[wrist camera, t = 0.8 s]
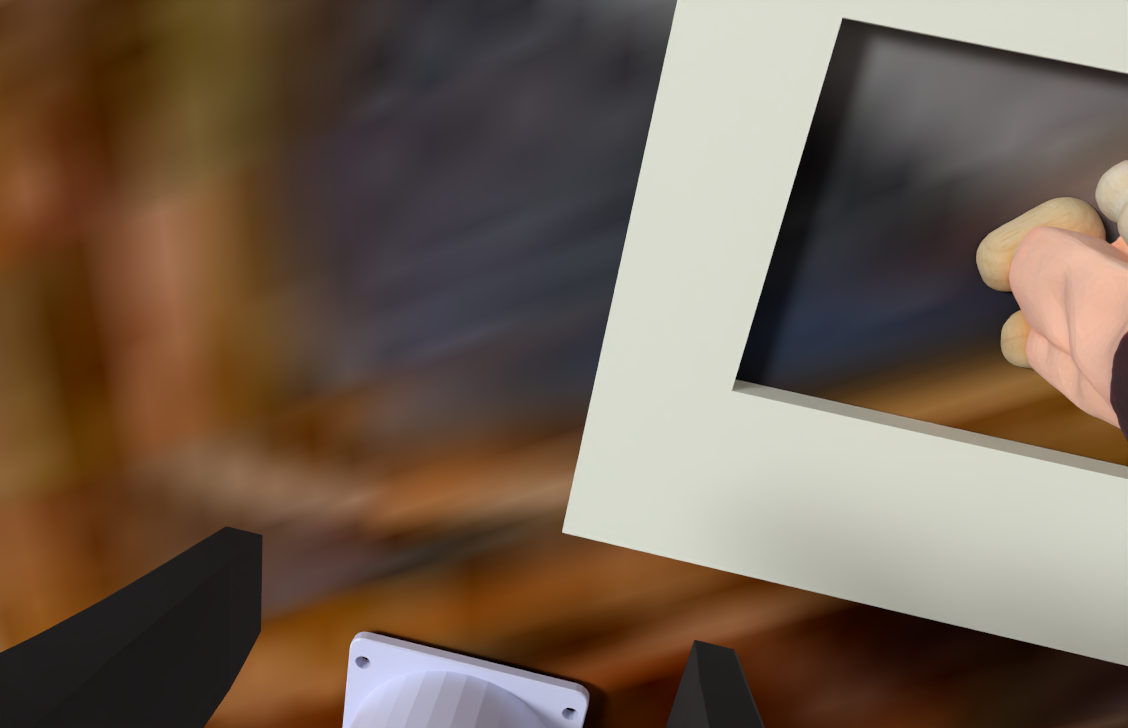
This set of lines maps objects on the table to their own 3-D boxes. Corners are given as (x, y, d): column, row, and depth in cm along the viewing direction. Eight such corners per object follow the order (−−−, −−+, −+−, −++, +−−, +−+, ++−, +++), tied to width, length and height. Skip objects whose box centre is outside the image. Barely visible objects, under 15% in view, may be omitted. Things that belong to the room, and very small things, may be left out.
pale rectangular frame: (1254, 678, 23) (1272, 700, 22) (566, 516, 24) (561, 532, 23) (1746, -11, 16) (1797, -13, 15) (720, -197, 17) (722, -208, 16)
